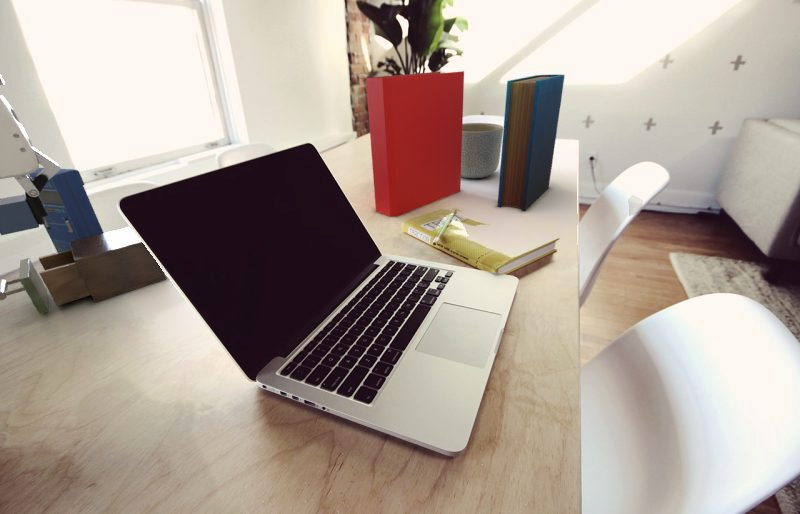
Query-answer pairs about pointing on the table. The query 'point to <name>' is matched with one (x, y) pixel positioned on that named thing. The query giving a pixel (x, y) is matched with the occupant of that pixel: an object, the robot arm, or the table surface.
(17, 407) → the table surface
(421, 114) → the book
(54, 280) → the drawer
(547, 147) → the book
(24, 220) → the block
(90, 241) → the cabinet
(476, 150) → the planter
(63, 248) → the electronic device
